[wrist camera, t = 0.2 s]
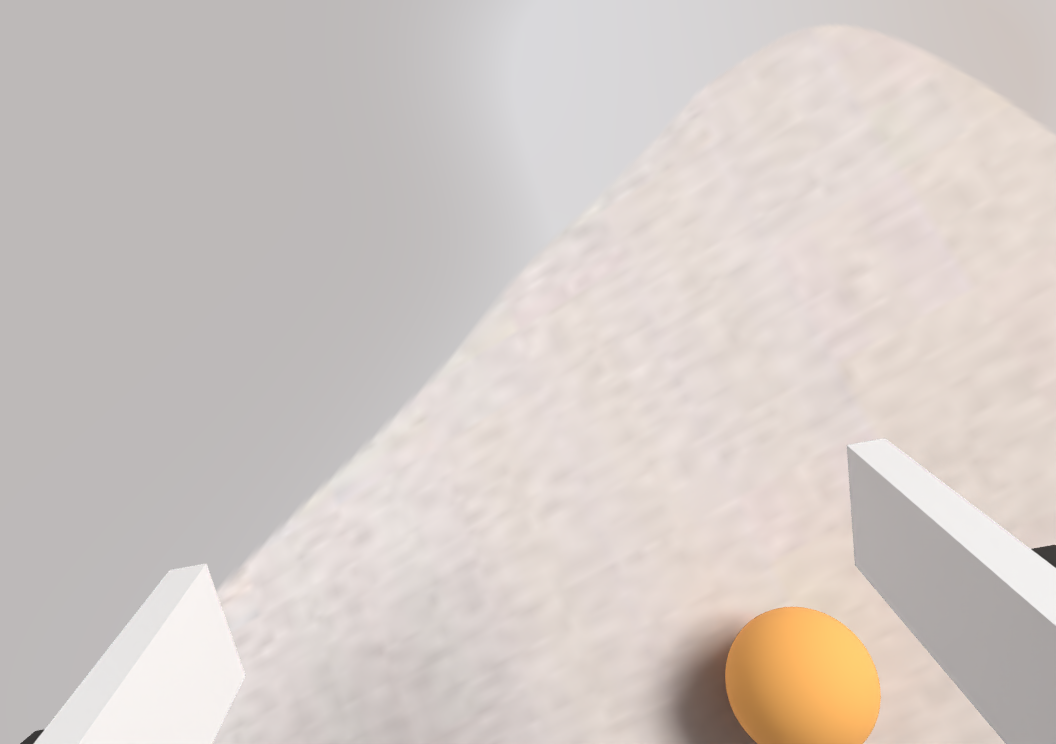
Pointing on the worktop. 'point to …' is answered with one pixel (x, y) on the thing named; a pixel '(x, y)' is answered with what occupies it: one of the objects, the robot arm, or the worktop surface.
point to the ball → (802, 680)
